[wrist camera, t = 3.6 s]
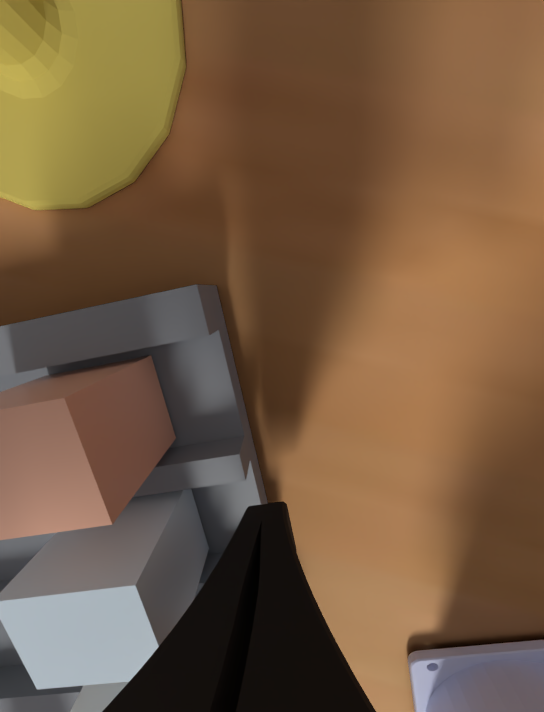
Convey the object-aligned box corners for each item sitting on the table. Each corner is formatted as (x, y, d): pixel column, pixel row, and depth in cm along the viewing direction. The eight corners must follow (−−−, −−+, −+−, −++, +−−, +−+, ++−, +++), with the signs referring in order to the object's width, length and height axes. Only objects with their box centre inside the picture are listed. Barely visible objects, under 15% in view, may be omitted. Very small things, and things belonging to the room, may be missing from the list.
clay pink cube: (150, 355, 10) (64, 397, 6) (175, 438, 11) (112, 524, 7) (45, 375, 10) (-101, 428, 6) (76, 454, 11) (-39, 545, 7)
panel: (216, 285, 11) (187, 283, 7) (298, 632, 14) (302, 728, 11) (-153, 363, 12) (-307, 390, 9) (8, 660, 16) (-62, 753, 12)
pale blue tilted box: (188, 480, 11) (135, 585, 7) (209, 548, 12) (170, 678, 8) (92, 494, 11) (-9, 602, 7) (117, 559, 12) (36, 689, 8)
